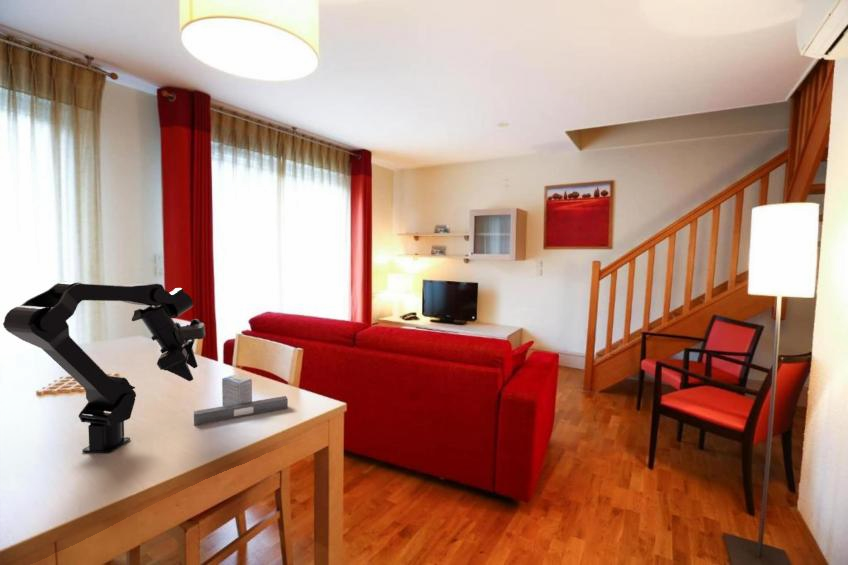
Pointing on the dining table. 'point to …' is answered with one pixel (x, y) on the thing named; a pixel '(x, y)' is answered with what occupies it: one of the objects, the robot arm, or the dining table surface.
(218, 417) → the rail
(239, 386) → the medicine box
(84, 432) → the dining table surface
